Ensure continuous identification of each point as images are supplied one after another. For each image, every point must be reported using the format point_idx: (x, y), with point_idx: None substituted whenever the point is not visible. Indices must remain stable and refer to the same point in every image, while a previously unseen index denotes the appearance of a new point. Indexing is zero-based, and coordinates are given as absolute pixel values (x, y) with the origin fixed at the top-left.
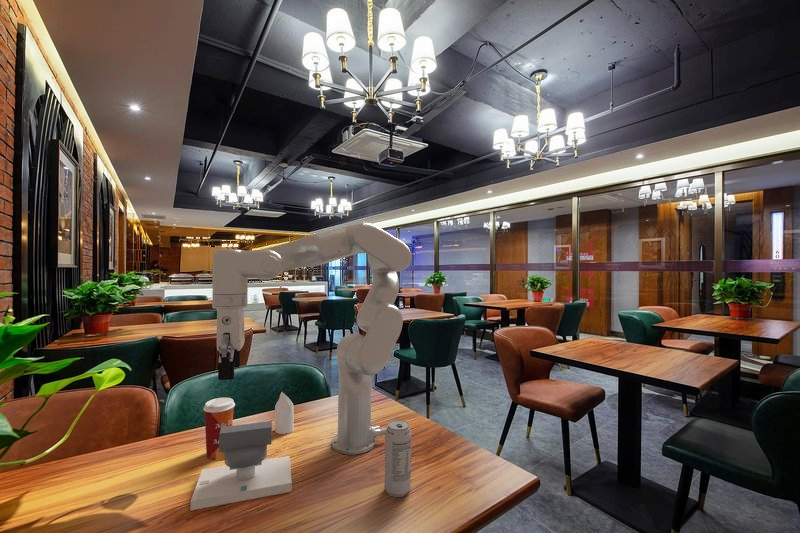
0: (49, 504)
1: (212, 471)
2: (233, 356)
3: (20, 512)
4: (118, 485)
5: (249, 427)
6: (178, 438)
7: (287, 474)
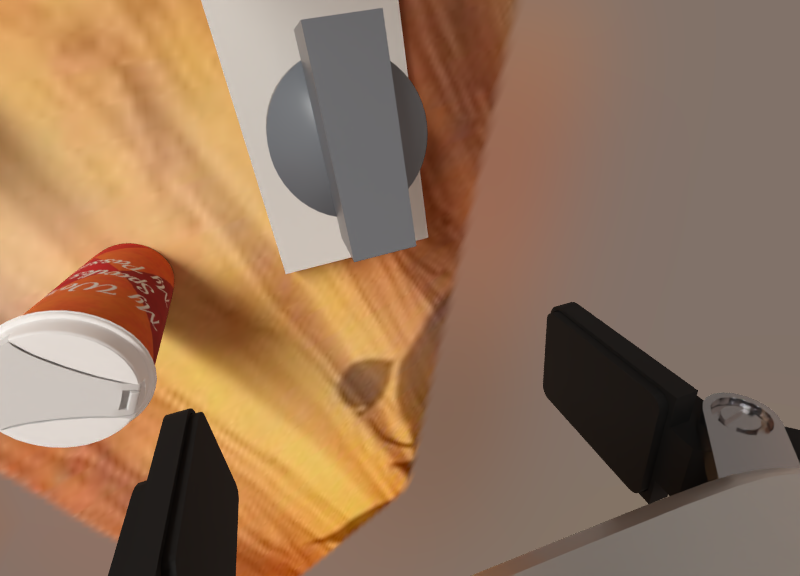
0: (358, 483)
1: (300, 240)
2: (205, 557)
3: (374, 501)
4: (306, 425)
5: (373, 134)
6: (35, 445)
7: None
